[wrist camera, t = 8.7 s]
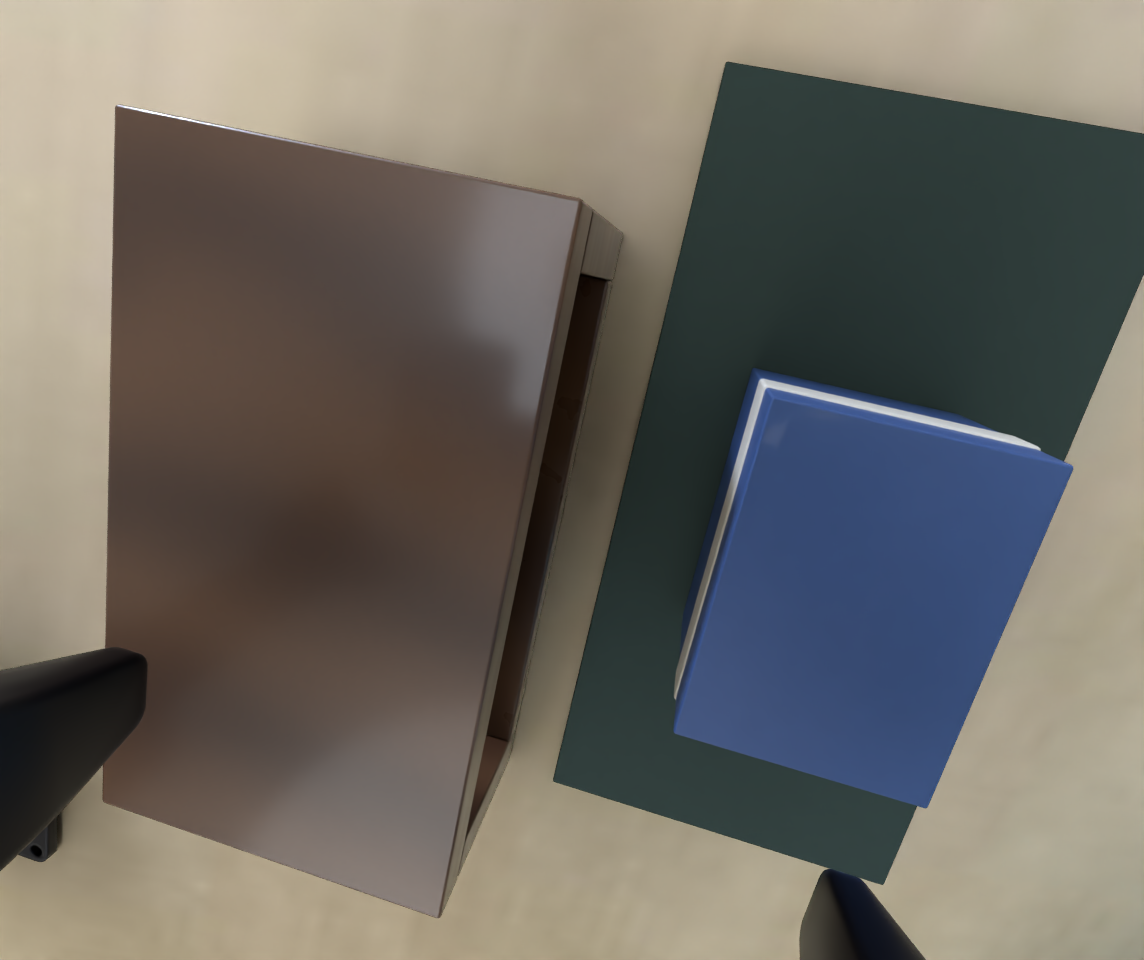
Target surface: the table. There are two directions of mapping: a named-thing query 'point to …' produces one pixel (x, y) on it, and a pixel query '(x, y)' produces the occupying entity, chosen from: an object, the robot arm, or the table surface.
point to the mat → (841, 379)
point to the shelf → (335, 488)
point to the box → (856, 582)
